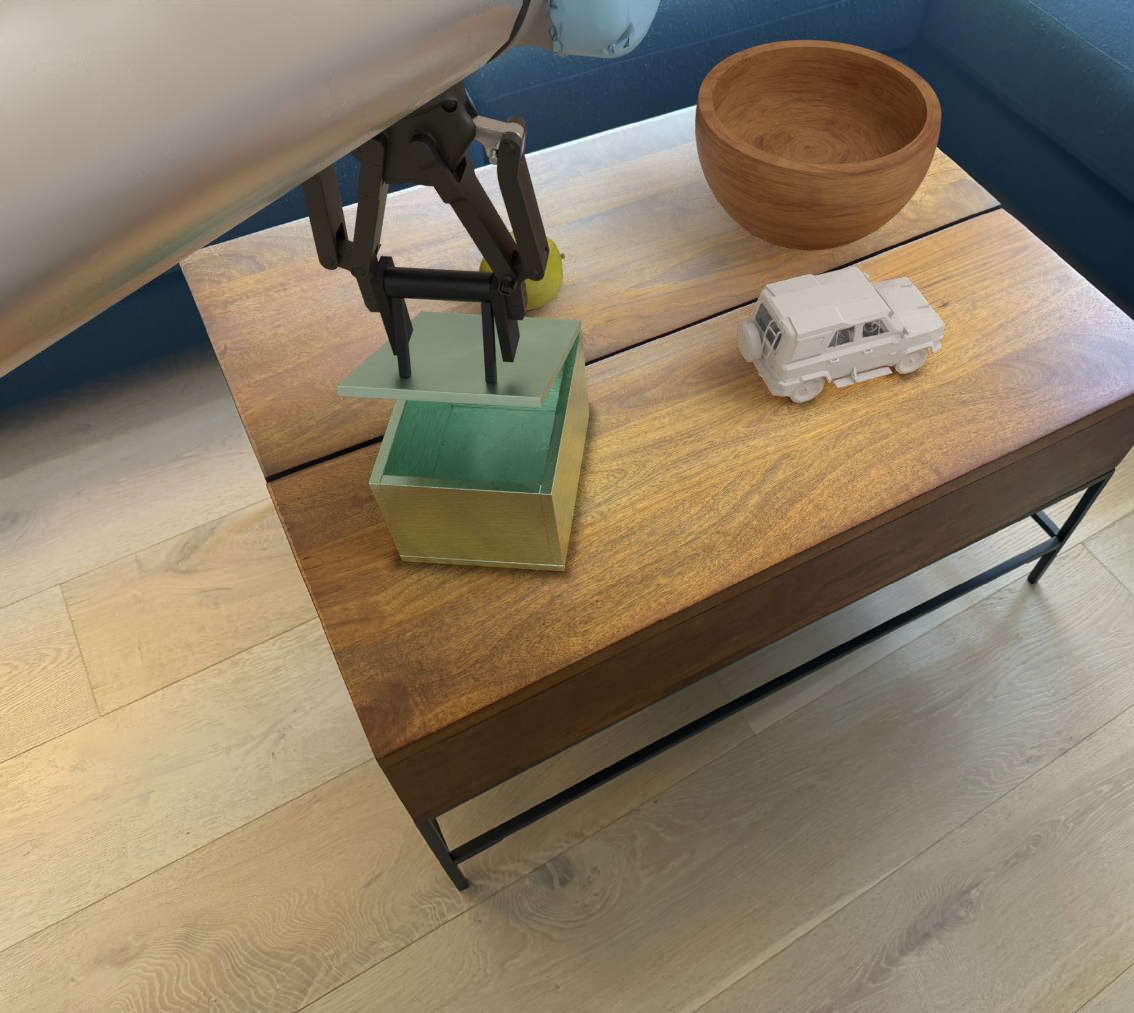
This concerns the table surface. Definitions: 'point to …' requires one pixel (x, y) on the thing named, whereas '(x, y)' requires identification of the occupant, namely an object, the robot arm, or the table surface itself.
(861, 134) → the bowl
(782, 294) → the toy car
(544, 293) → the apple
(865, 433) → the table surface
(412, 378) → the freezer lid
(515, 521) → the freezer
